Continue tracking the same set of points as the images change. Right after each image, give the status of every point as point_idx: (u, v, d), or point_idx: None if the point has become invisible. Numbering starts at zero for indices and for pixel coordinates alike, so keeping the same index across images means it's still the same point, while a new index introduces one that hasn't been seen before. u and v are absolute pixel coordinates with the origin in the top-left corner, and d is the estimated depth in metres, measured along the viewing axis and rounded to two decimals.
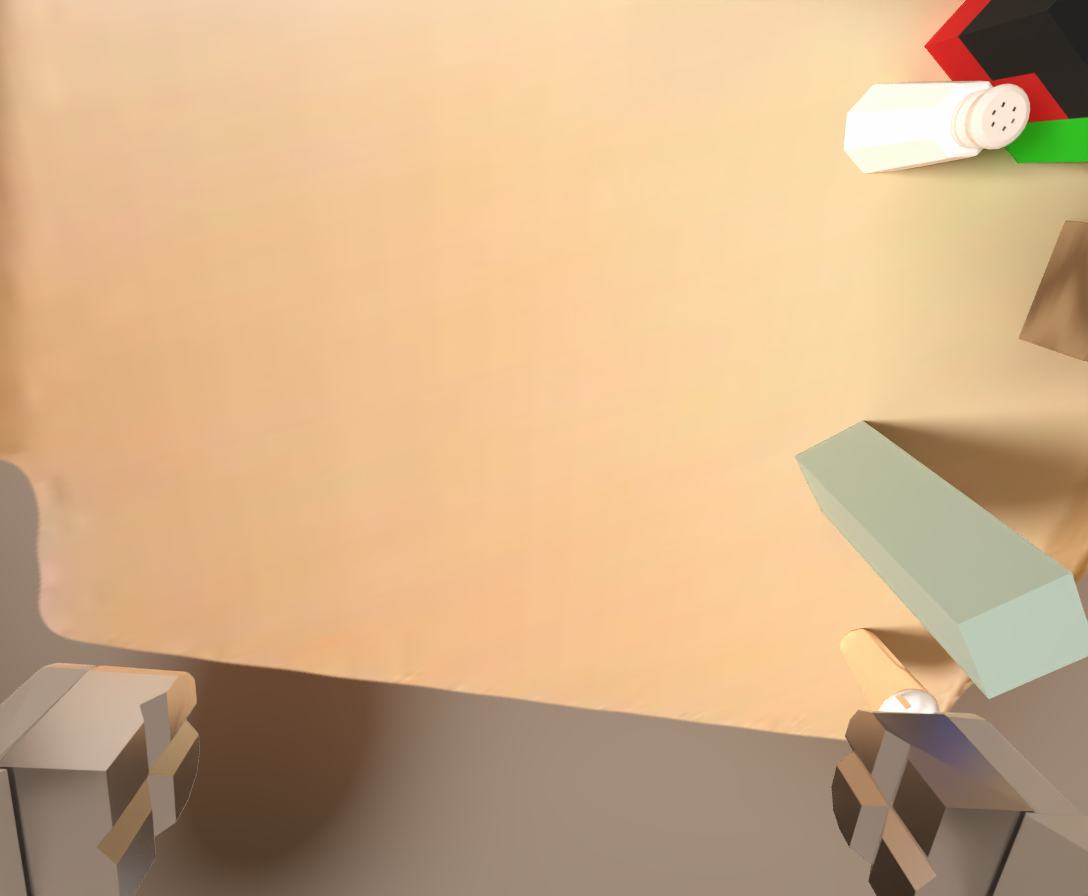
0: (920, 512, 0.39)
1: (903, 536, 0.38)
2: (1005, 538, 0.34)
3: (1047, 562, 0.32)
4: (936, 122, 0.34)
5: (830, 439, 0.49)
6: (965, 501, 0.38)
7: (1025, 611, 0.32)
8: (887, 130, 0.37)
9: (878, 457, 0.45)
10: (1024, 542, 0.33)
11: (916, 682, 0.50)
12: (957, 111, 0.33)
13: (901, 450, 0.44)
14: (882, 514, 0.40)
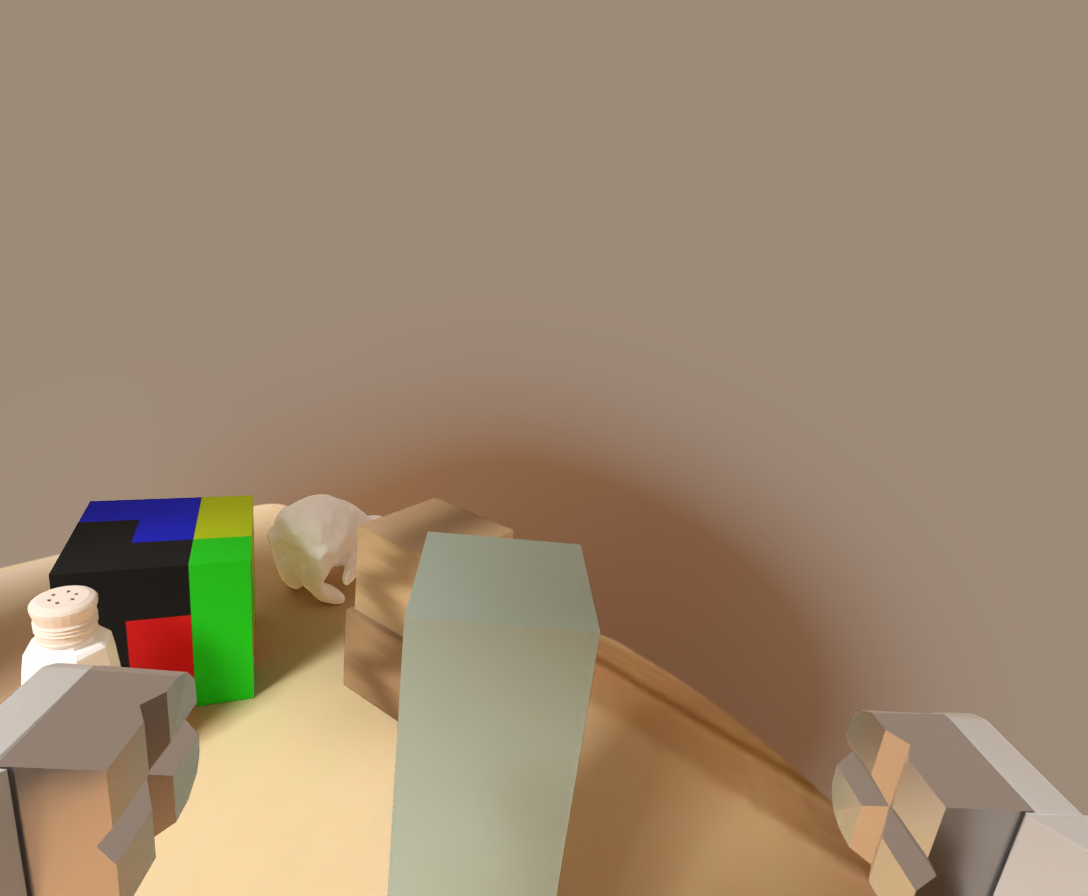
0: None
1: None
2: None
3: None
4: (31, 660, 0.32)
5: None
6: None
7: (451, 567, 0.21)
8: None
9: None
10: None
11: None
12: (35, 637, 0.32)
13: None
14: None
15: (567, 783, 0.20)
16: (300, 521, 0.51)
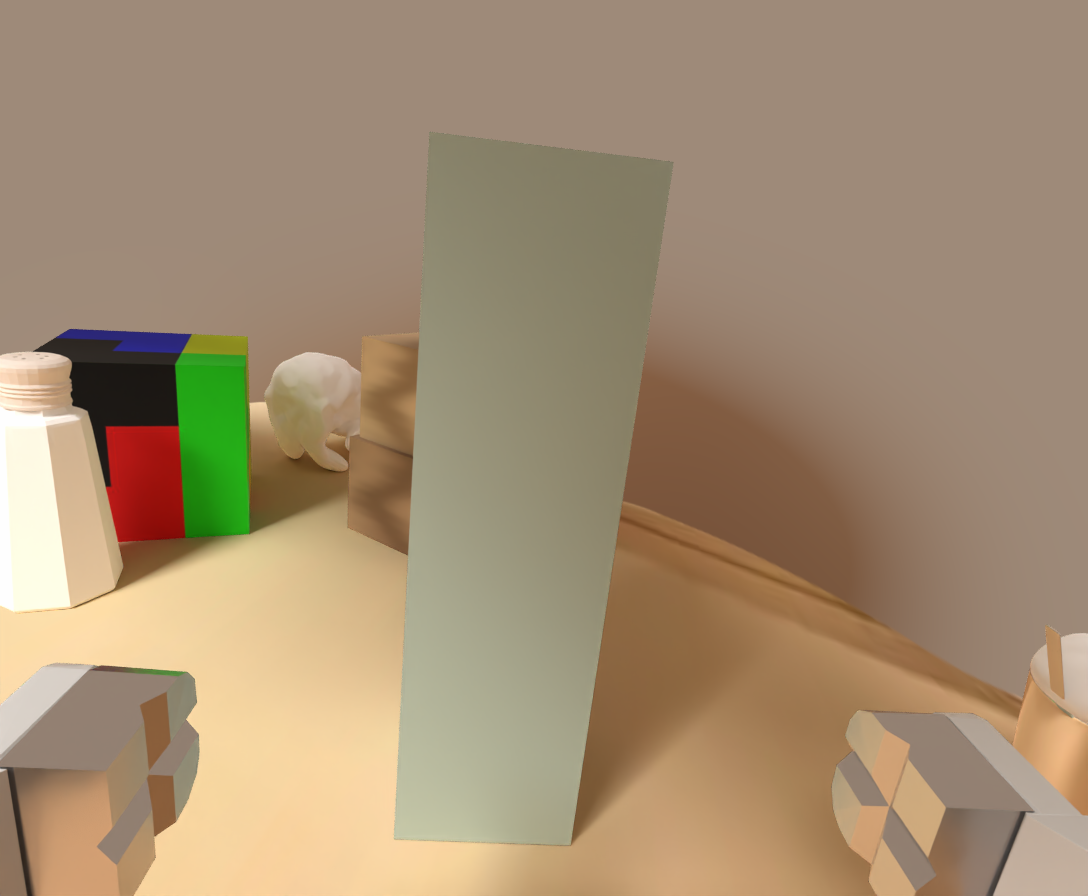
0: None
1: None
2: None
3: None
4: None
5: None
6: None
7: None
8: None
9: None
10: None
11: None
12: None
13: None
14: None
15: (629, 394, 0.17)
16: (300, 371, 0.47)
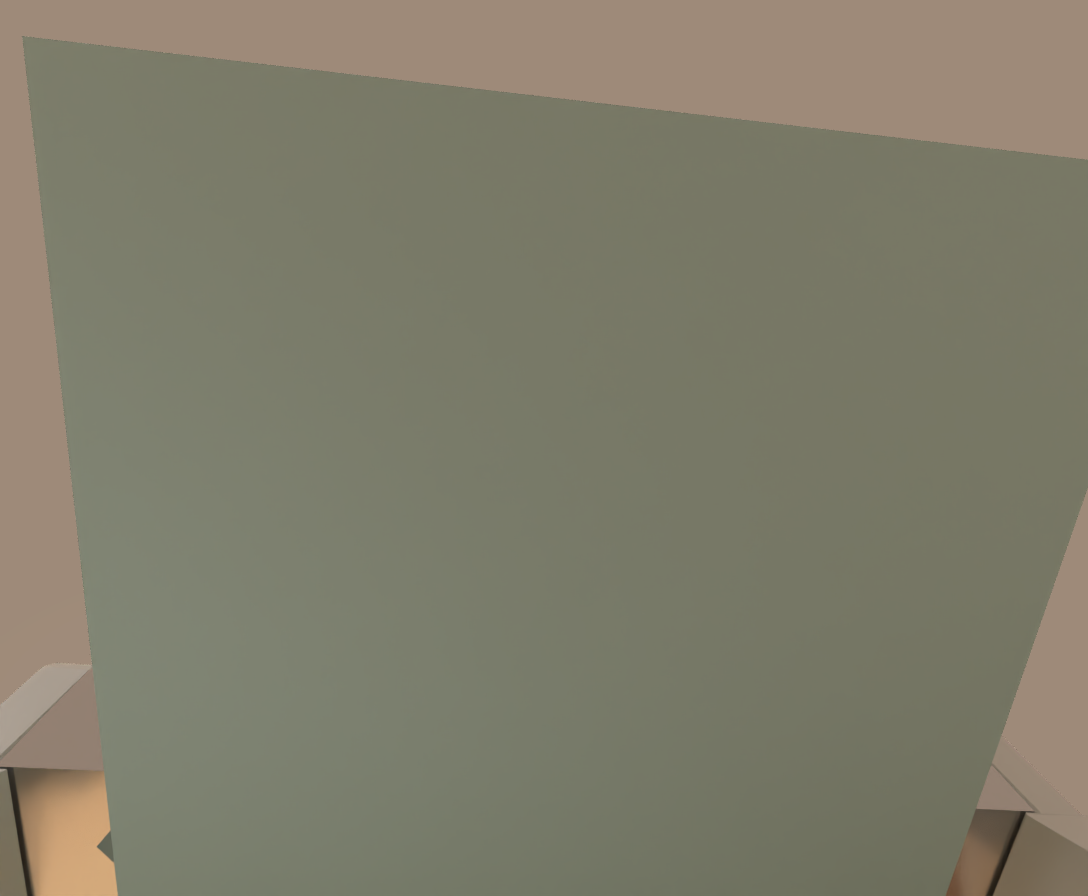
0: None
1: None
2: None
3: None
4: None
5: None
6: None
7: None
8: None
9: None
10: None
11: None
12: None
13: None
14: None
15: None
16: None
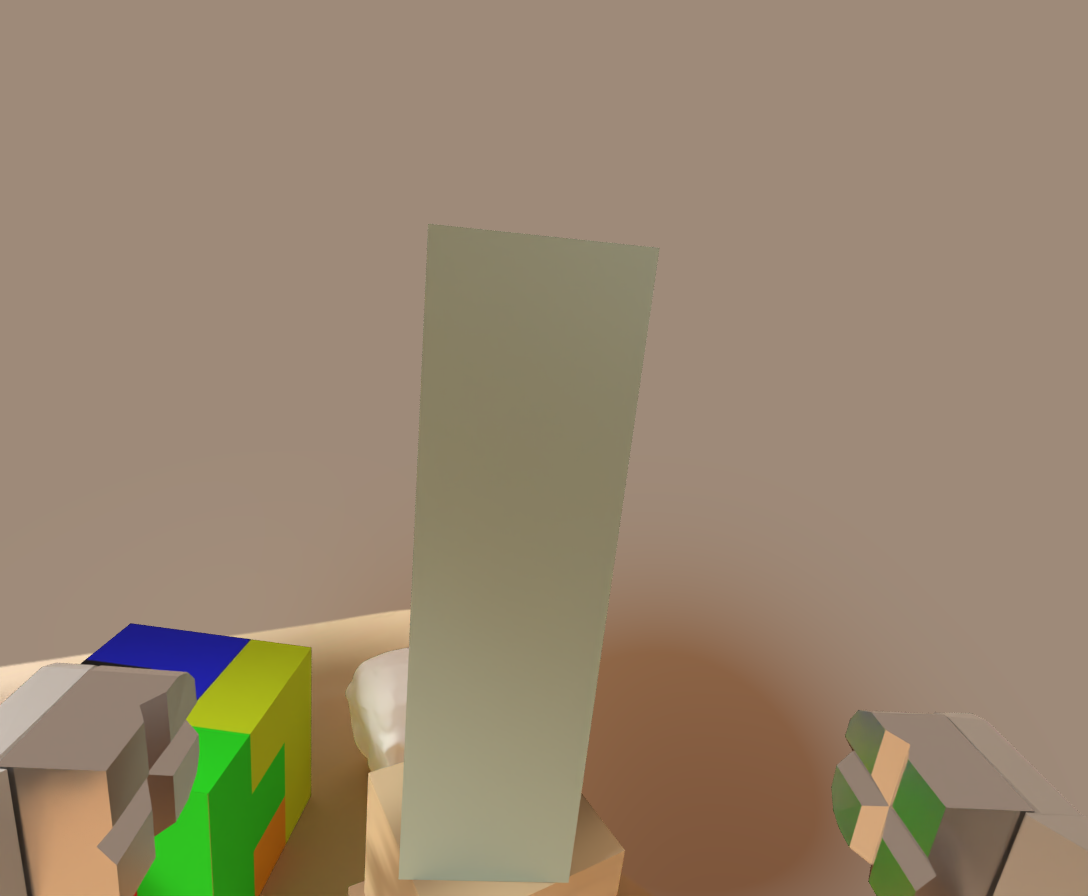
0: None
1: None
2: None
3: None
4: None
5: None
6: None
7: None
8: None
9: None
10: None
11: None
12: None
13: None
14: None
15: (619, 462, 0.17)
16: (372, 689, 0.36)
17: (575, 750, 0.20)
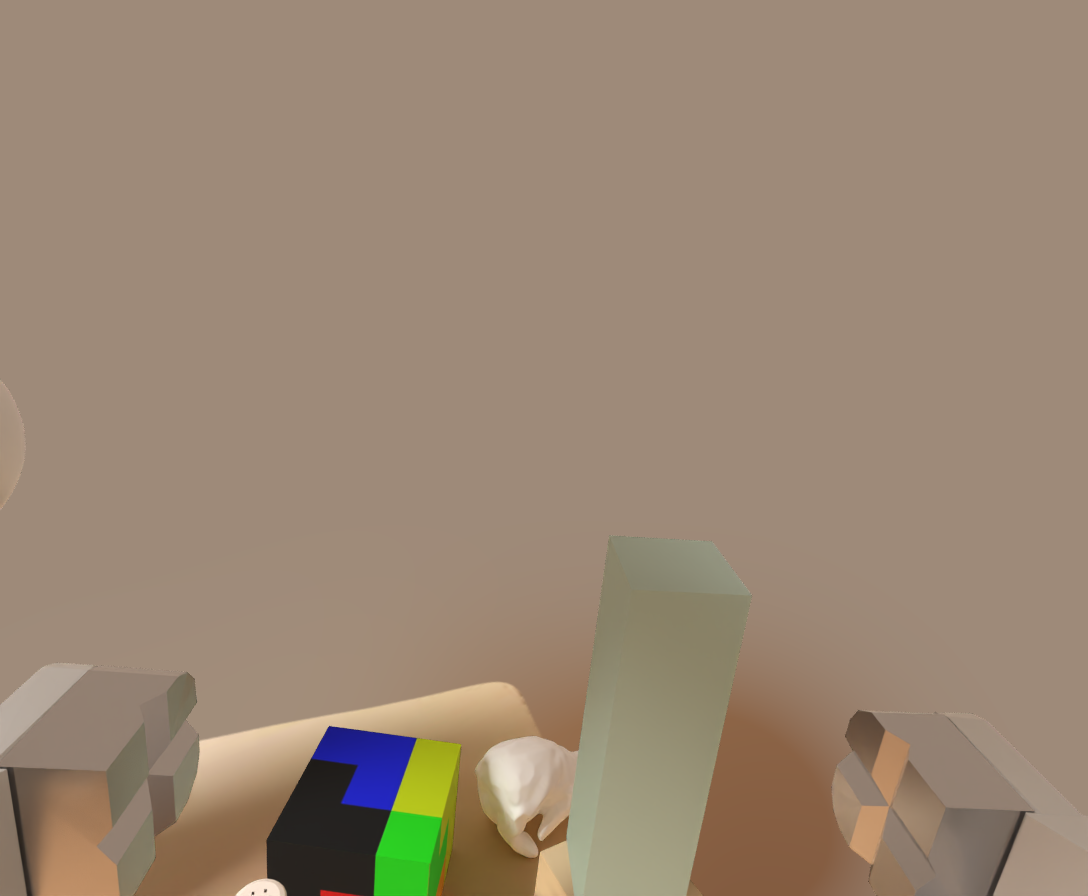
0: (597, 700, 0.34)
1: (605, 705, 0.32)
2: (602, 603, 0.35)
3: (607, 557, 0.34)
4: None
5: (572, 875, 0.37)
6: (592, 661, 0.36)
7: (639, 558, 0.32)
8: None
9: (579, 790, 0.37)
10: (602, 586, 0.35)
11: None
12: None
13: (577, 764, 0.38)
14: (598, 745, 0.33)
15: (724, 697, 0.31)
16: (502, 773, 0.50)
17: (689, 850, 0.34)
